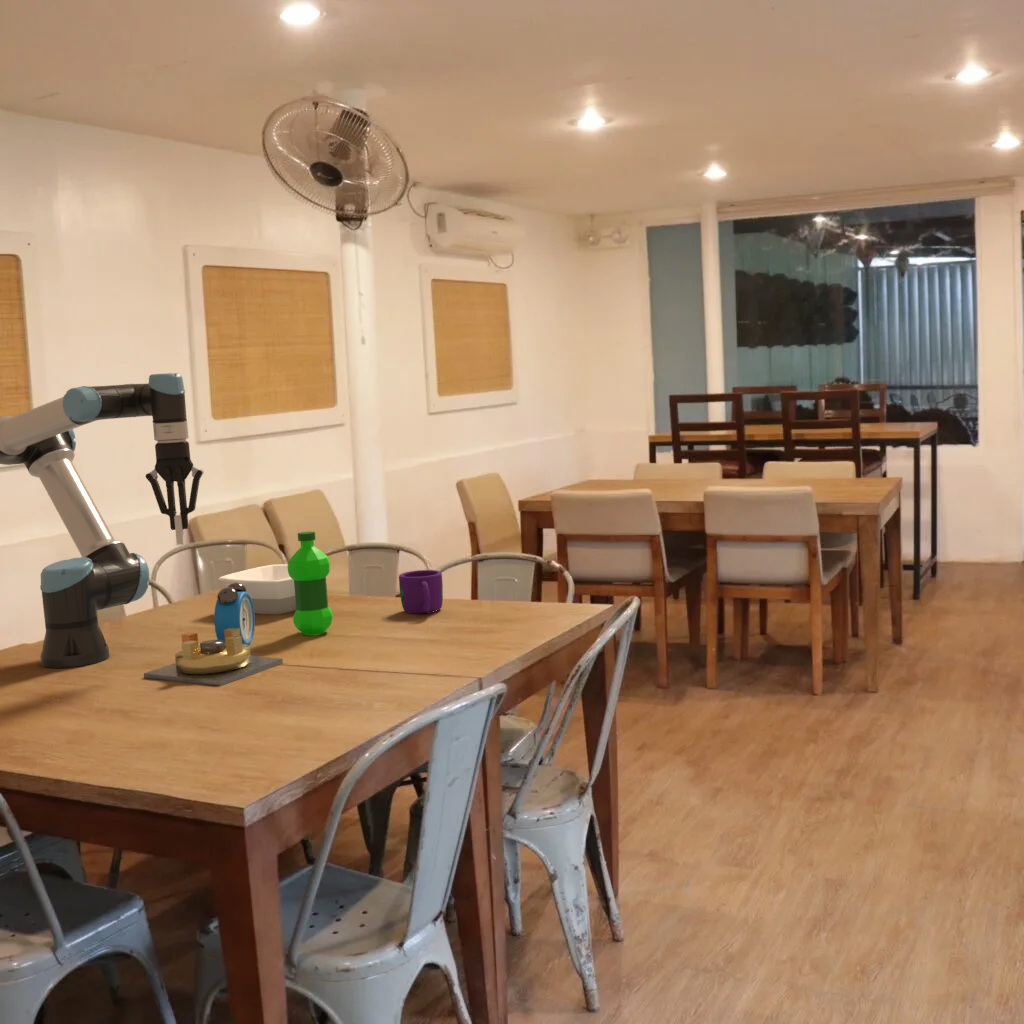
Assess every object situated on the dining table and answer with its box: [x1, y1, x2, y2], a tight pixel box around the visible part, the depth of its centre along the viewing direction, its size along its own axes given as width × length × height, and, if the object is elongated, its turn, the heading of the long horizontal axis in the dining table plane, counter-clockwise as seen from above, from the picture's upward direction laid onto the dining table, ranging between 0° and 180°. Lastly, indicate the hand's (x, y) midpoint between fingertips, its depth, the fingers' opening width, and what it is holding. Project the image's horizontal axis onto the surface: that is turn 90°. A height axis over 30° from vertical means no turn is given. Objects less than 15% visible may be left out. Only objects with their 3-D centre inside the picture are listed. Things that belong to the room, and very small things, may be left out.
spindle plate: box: [143, 655, 284, 687], centre depth 269 cm, size 22×20×1 cm
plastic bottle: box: [287, 531, 334, 636], centre depth 300 cm, size 10×10×25 cm
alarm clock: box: [213, 582, 256, 647], centre depth 290 cm, size 13×6×15 cm, turn 176°
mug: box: [398, 569, 444, 615], centre depth 319 cm, size 17×11×10 cm, turn 12°
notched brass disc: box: [174, 628, 252, 674], centre depth 268 cm, size 16×16×6 cm
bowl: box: [218, 563, 331, 615], centre depth 336 cm, size 24×25×10 cm
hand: (181, 543), depth 282 cm, fingers closed
